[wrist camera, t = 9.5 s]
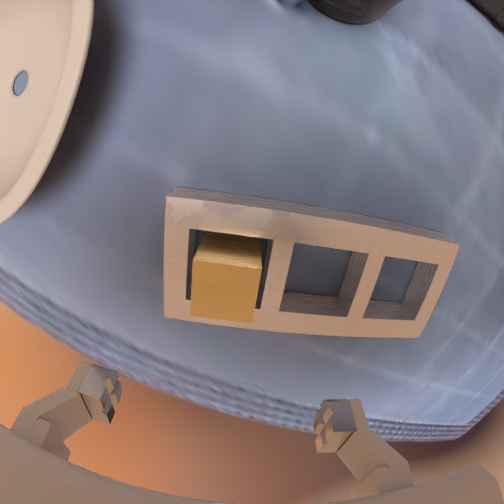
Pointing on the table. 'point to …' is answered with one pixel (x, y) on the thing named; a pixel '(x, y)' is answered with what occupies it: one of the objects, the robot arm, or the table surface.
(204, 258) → the golden yellow block
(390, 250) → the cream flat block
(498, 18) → the dark slate chunk
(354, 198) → the table surface
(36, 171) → the soup bowl
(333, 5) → the supplement bottle
